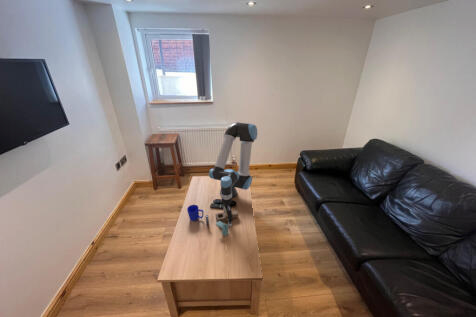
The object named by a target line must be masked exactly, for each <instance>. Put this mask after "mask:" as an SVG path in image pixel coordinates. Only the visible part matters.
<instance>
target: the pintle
mask: <svg viewBox="0 0 476 317" xmlns="http://www.w3.org/2000/svg"><path fill="white" fill-rule="evenodd" d="M204 217H205V225H206V226H209V225H210V221H209V215H208V214H207V215H205V216H204Z"/></svg>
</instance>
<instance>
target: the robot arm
mask: <svg viewBox="0 0 476 317" xmlns="http://www.w3.org/2000/svg"><path fill="white" fill-rule="evenodd" d="M223 137H224V139H223V141H222V143H221V147H220V150H219V153H218V156H217V159H216V162H215V165H214V167H213V168H210V170H208V171H209V172H208V177H209V179H213V180H216V181H220V191H219V195H220V197H221V203H222V206H223V212H224V213H227V215H228V220H227V221H226V222H227V225H228V228H229V227H232V226H233V221H234V220H233V219H232V207H231V203H232V202H233V199H234V198H236V197H237V195H238V191H237V189H240V190H245V191H247V190H249V188H250V187H251V184H252V182H253V177H252V176H251V173H250V163H251V157H252V156H251V155H252V145H253V143H254V142H255V140H257V138H258V128H257V125H255V124H253V123H247V122H246V123H245V122H244V123H243V122H234V123H232V124H230V125H229V126H228V127H227V129H226V130H225V132H224V134H223ZM236 138H239V142H240V152H239V162H238V171H237V170H234V169H232V168H231V169H229V168H227V169H225V168H226V164H227V162H228V159H229V156H230V153H231V150H232V147H233V145H234V141H236ZM236 188H237V189H236Z"/></svg>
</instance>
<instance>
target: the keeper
mask: <svg viewBox="0 0 476 317" xmlns="http://www.w3.org/2000/svg"><path fill="white" fill-rule="evenodd" d="M215 226H217V227H218V228H220V229H221V232H222V233H221V234H222V235H223V236H224V237H226V236H228V234H229V227H228V223H223V222H221V221H218V222H217V221H216V223H215Z"/></svg>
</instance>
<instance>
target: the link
mask: <svg viewBox="0 0 476 317" xmlns="http://www.w3.org/2000/svg"><path fill="white" fill-rule="evenodd" d="M231 212H232V219H233V221H234V220H238V219H239V212H238V210H236V209H235V210H231ZM227 220H228V215H227V213H224V211H222V212H217V213H215V221H216V223H217V222H218V221H221V222H223V223H225V224H227V222H228V221H227Z"/></svg>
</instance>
